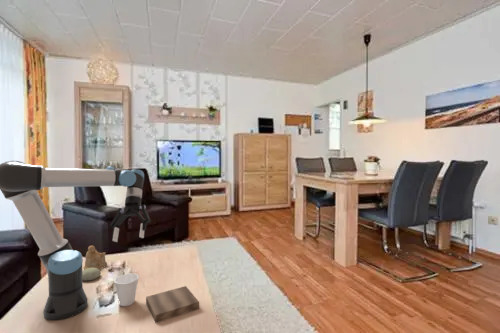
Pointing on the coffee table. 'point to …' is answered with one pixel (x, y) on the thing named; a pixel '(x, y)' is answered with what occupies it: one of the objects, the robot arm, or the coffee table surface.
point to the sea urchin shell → (90, 274)
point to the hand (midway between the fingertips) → (128, 239)
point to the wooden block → (171, 303)
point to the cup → (126, 288)
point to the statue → (94, 258)
